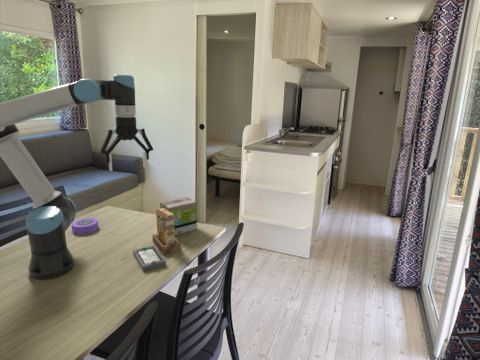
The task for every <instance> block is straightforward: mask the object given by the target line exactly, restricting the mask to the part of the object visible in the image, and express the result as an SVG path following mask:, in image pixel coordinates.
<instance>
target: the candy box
mask: <svg viewBox="0 0 480 360" xmlns="http://www.w3.org/2000/svg"><path fill="white" fill-rule="evenodd" d="M155 214H156V215H155V216H156V218H155V219H156V230H157V233H156V234H158V239H159V241H160V242H161V243H162V244H163V246H165V245H170V244H174V243H175V238H176V237H175V236H176V235H175V234H174V214H173V213H171V212H169V211H168V210H166V209H165V208H162V209H160V208H159V209H156V210H155Z"/></svg>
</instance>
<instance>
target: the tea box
mask: <svg viewBox="0 0 480 360" xmlns="http://www.w3.org/2000/svg"><path fill="white" fill-rule="evenodd" d="M162 208H165V209H166V210H168V211H169V212H171V213H173V214H174V234H175V236H178V235H181V234H186V233H188V231H189V232H193V231H196V230H197V229H198V202H197V201H195V200H193V199H191V198H190V197H188V196H185V197H181V198H180V197H179V198H177V199H176V198H175V199H172V200H165V201H160V203H159V209H162ZM195 229H196V230H195ZM192 230H193V231H192Z"/></svg>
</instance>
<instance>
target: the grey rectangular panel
mask: <svg viewBox="0 0 480 360" xmlns="http://www.w3.org/2000/svg"><path fill="white" fill-rule="evenodd" d="M138 255H139V256H140V258H141V260H142V261H143V263H144V264H148V263H152V261H160V259H159V257H158V256H157V255H156V253H155V252H154V250H153V249H148V250H144V251H139V252H138Z"/></svg>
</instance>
